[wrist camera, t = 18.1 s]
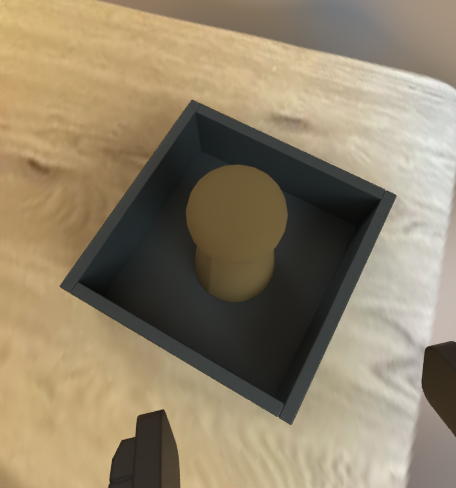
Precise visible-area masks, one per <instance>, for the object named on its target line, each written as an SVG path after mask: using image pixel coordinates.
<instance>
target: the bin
mask: <svg viewBox="0 0 456 488" xmlns="http://www.w3.org/2000/svg"><path fill="white" fill-rule="evenodd" d="M239 164H240V165H245V166H250V167H255V168H257V169H258V170H260V171H262V172H264V173H266V174H268V175H269V176H270V177H271V178H272V179H273V180H274V181H275V182H276V183H277V184H278V185H279V187H280V189H281V191H282V193H283V195H284V197H285V201H286V207H287V213H288V217H287V223H286V228H285V232H284V234H283V236H282V237H281V239H280V241H279V243H278V244H277V246H276V247H275V248H274V259H275V266H274V272H273V277H272V279H271V280H270V282H269V284H268V286H267V288H265V289H264V290H263V291H262V292H261V293H260V294H259V295H258V296H256V297H254V298H252V299H249V300H247V301H243V302H233V303H232V302H228V301H223V300H219V299H218V298H216V297H214V296H212V295H211V294H209V293H208V292H207V291H206V290H205V289H204V287H203V286H202V285H201V284H200V282H199V280H198V277H197V275H196V273H195V254H196V247H197V245H196V244H195V243H194V241H193V238H192V236H191V234H190V231H189V229H188V226H187V218H186V208H187V205H188V201H189V197H190V194H191V192H192V190H193V189H194V187H195V186H196V184H197V183H198V181H199V180H200V179H201V178H203V177H204V176H205V175H206V174H208V173H209V172H210V171H212V170H215V169H218V168H220V167H223V166H228V165H239ZM395 199H396V195H395V194H393V193H391V192H389V191H385V189H383V188H381V187H379V186H376V185H374V184H372V183H370V182H368V181H366V180H364V179H361V178H359V177H357V176H355V175H353V174H351V173H349V172H346V171H344V170H342V169H340V168H338V167H336V166H334V165H331V164H329V163H327V162H325V161H323V160H321V159H318V158H316V157H314V156H312V155H310V154H308V153H306V152H303V151H301V150H299V149H297V148H295V147H293V146H291V145H288V144H286V143H284V142H282V141H280V140H278V139H276V138H273V137H271V136H269V135H267V134H265V133H263V132H261V131H258V130H256V129H254V128H252V127H250V126H248V125H246V124H243V123H241V122H239V121H237V120H235V119H233V118H231V117H228V116H226V115H224V114H222V113H220V112H218V111H216V110H213V109H211V108H209V107H207V106H205V105H203V104H200V103H198V102H196V101H194V100H191V101H190V103H189V104H188V106H187V107H186V108H185V110H184V111H183V113H182V114H181V116H180V117H179V118H178V120H177V121H176V123H175V124H174V125H173V127H172V128H171V130H170V131H169V132H168V134H167V135H166V137H165V138H164V140H163V141H162V142H161V144H160V145H159V147H158V148H157V149H156V151H155V152H154V154H153V155H152V156H151V158H150V159H149V161H148V162H147V164H146V165H145V166H144V168H143V169H142V171H141V172H140V173H139V175H138V176H137V178H136V179H135V180H134V182H133V183H132V185H131V186H130V188H129V189H128V190H127V192H126V193H125V195H124V196H123V197H122V199H121V200H120V202H119V203H118V204H117V206H116V207H115V209H114V210H113V212H112V213H111V214H110V216H109V217H108V219H107V220H106V221H105V223H104V224H103V226H102V227H101V228H100V230H99V231H98V233H97V234H96V236H95V237H94V238H93V240H92V241H91V243H90V244H89V245H88V247H87V248H86V250H85V251H84V252H83V254H82V255H81V257H80V258H79V260H78V261H77V262H76V264H75V265H74V267H73V268H72V269H71V271H70V272H69V274H68V275H67V276H66V278H65V279H64V281H63V282H62V284H61V285H60V288H62V289H64V290H65V291H67V292H69V293H71V294H72V295H74V296H76V297H77V298H79V299H81V300H82V301H84V302H86V303H87V304H89V305H91V306H92V307H94V308H96V309H97V310H99V311H101V312H102V313H104V314H106V315H107V316H109V317H111V318H112V319H114V320H116V321H117V322H119V323H121V324H122V325H124V326H126V327H127V328H129V329H131V330H132V331H134V332H136V333H138V334H139V335H141V336H143V337H144V338H146V339H148V340H149V341H151V342H153V343H154V344H156V345H158V346H159V347H161V348H163V349H164V350H166V351H168V352H169V353H171V354H173V355H174V356H176V357H178V358H179V359H181V360H183V361H184V362H186V363H188V364H189V365H191V366H193V367H194V368H196V369H198V370H199V371H201V372H203V373H204V374H206V375H208V376H210V377H211V378H213V379H215V380H216V381H218V382H220V383H221V384H223V385H225V386H226V387H228V388H230V389H231V390H233V391H235V392H236V393H238V394H240V395H241V396H243V397H245V398H246V399H248V400H250V401H251V402H253V403H255V404H256V405H258V406H260V407H261V408H263V409H265V410H266V411H268V412H270V413H271V414H273V415H275V416H276V417H279V418H280V419H282V420H283V421H285V422H287V423H288V424H290V425H292V423H293V421H294V419H295V417H296V415H297V413H298V410H299V408H300V406H301V404H302V402H303V399H304V397H305V395H306V393H307V391H308V389H309V386H310V384H311V382H312V380H313V378H314V375H315V373H316V371H317V369H318V367H319V364H320V362H321V360H322V358H323V356H324V354H325V351H326V349H327V347H328V345H329V343H330V340H331V338H332V336H333V334H334V332H335V330H336V327H337V325H338V323H339V321H340V319H341V316H342V314H343V312H344V310H345V308H346V306H347V303H348V301H349V299H350V297H351V295H352V292H353V290H354V288H355V286H356V284H357V282H358V279H359V277H360V275H361V273H362V271H363V268H364V266H365V264H366V262H367V260H368V258H369V255H370V253H371V251H372V249H373V247H374V244H375V242H376V240H377V238H378V236H379V234H380V231H381V229H382V227H383V225H384V223H385V220H386V218H387V216H388V214H389V212H390V210H391V207H392V205H393V203H394V201H395Z"/></svg>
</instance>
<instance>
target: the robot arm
mask: <svg viewBox="0 0 456 488" xmlns="http://www.w3.org/2000/svg"><path fill="white" fill-rule="evenodd" d="M422 388H423V392H424V394H425V397H426V398H427V400H428V402H429V403H430V405H431V406H432V407H433V408H434V410H435V411H436V412H437V414H438V415H439V416H440V417H441V419H442V420H443V421H444V422H445V424H446V425H447V426H448V428H449V429H450V430H451V431H452V433H453V434H454V435H455V437H456V342H454V341H449V342H445V343H441V344H436V345H432V346H428V347H427V348H426V349H425V354H424V363H423V372H422ZM109 481H110V484H109V487H108V488H180V470H179V457H178V450H177V445H176V442H175V439H174V436H173V433H172V430H171V427H170V424H169V421H168V418H167V415H166V413H165V410H164V409H163V410H159V411H154V412H150V413H146V414H142V415H139V416H138V417H137V423H136V436H135V437H133V438H129V439H125V440H122V441H121V443H120V445H119V447H118V449H117V451H116V453H115V455H114V457H113V459H112V464H111V472H110V479H109Z"/></svg>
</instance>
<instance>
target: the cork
mask: <svg viewBox="0 0 456 488" xmlns="http://www.w3.org/2000/svg"><path fill="white" fill-rule="evenodd" d="M287 217H288V213H287V207H286V201H285V197H284V195H283V193H282V191H281V189H280V187H279V185H278V184H277V183H276V182H275V181H274V180H273V179H272V178H271V177H270V176H269V175H268V174H266V173H264V172H262V171H260V170H258V169H257V168H255V167H250V166H245V165H240V164H239V165H228V166H223V167H220V168H218V169H215V170H212V171H210V172H209V173H208V174H206V175H205V176H204V177H203V178H201V179H200V180H199V181H198V183H197V184H196V186H195V187H194V189H193V190H192V192H191V194H190V197H189V201H188V205H187V208H186V218H187V226H188V229H189V231H190V234H191V236H192V238H193V241H194V243H195V244H196V245H197V247H196V254H195V273H196V275H197V277H198V280H199V282H200V284H201V285H202V286H203V287H204V289H205V290H206V291H207V292H208V293H209V294H211V295H212V296H214V297H216V298H218V299H219V300H223V301H228V302H232V303H233V302H243V301H247V300H249V299H252V298H254V297H256V296H258V295H259V294H260V293H261V292H262V291H263V290H264V289H265V288H267V286H268V284H269V282H270V280H271V279H272V277H273V272H274V266H275V259H274V248H275V247H276V246H277V244H278V243H279V241H280V239H281V237H282V236H283V234H284V232H285V228H286V223H287Z"/></svg>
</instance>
